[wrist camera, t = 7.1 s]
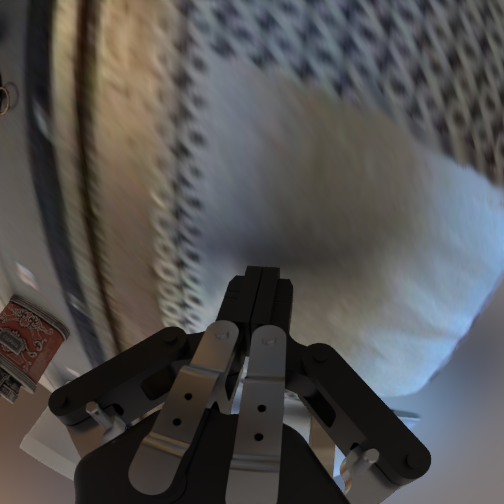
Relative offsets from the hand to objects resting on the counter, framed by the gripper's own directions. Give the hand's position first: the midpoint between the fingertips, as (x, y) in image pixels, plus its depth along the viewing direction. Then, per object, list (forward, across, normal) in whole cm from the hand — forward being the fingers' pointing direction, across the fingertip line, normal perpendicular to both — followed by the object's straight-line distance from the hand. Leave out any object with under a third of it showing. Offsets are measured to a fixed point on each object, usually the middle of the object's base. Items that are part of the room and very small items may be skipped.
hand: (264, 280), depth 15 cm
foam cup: (+2, +26, +26) cm, 37 cm away
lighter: (+2, +23, +9) cm, 25 cm away
